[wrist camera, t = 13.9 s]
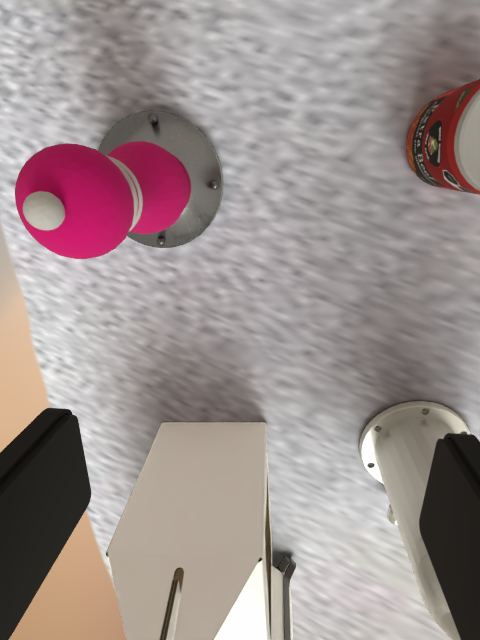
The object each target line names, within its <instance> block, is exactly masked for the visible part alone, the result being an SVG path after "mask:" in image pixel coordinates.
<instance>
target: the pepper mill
mask: <svg viewBox="0 0 480 640" xmlns="http://www.w3.org/2000/svg"><path fill="white" fill-rule="evenodd" d="M190 195H191V181H190V177H189V174H188V172H187V170H186V168H185V166H184V165H183V163H182V162H181V161H180V160H179V159H178V158H177V157H175V156H174V155H173V154H171V153H169V152H168V151H167V150H165V149H164V148H162V147H160V146H159V145H156V144H153V143H151V142H145V141H136V142H129V143H125V144H122V145H120V146H118V147H116V148H114V149H113V150H112V151H111V152H110V153H109V154H108V155H107V156H105V155H104V154H102V153H100V152H99V151H97V150H95V149H92V148H89V147H86V146H82V145H78V144H59V145H54V146H51V147H47V148H44V149H42V150H41V151H39V152H38V153H36V154H35V155H33V156H32V157H31V158H30V159H29V160H28V161H27V162H26V163H25V165H24V166H23V168H22V169H21V171H20V173H19V176H18V179H17V182H16V188H15V198H16V206H17V210H18V213H19V215H20V218H21V220H22V222H23V224H24V226H25V227H26V229H27V230H28V231H29V233H30V234H31V235H32V236H33V237H34V238H35V239H36V240H37V241H38V242H39V243H40V244H41V245H43V246H44V247H46V248H47V249H49V250H50V251H52V252H54V253H56V254H58V255H61V256H65V257H70V258H75V259H88V258H93V257H98V256H101V255H104V254H106V253H108V252H110V251H111V250H113V249H115V248H116V247H117V246H118V245H119V244H120V243H121V242H122V241H123V240H124V239H125V238H126V236H127V234H128V232H129V231H130V232H134V233H138V234H151V233H156V232H159V231H163V230H165V229H167V228H169V227H170V226H171V225H173V224H174V223H175V222H176V221H177V220H178V219H179V217H180V216H181V214H182V212H183V211H184V209H185V207H186V206H187V204H188V202H189V199H190Z"/></svg>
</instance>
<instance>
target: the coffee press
mask: <svg viewBox="0 0 480 640" xmlns="http://www.w3.org/2000/svg"><path fill="white" fill-rule="evenodd" d="M288 564H289V565H288ZM287 566H288V567H287ZM286 567H287V570H286V572H285V574H284V575H283V574H282V572H283V571H284V570H285V569H286ZM295 568H296V563H295V562H294V561H293V559H292V558H291V557H290V556H285V557H284V558H283V559H282V561H281V563H280V564H279V565H278V566H277V567H276V568H275V567H273V566H272V640H293V628H292V601H291V589H290V585H289V583H290V579H291V576H292V574H293V572H294V570H295Z"/></svg>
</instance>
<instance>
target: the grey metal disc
mask: <svg viewBox="0 0 480 640" xmlns="http://www.w3.org/2000/svg"><path fill="white" fill-rule="evenodd" d="M136 141H145V142H151V143H153V144H156V145H159V146H160V147H162V148H164V149H165V150H167V151H168V152H169V153H171V154H173V155H174V156H175V157H177V158H178V159H179V160H180V161H181V162H182V163H183V165H184V166H185V168H186V170H187V172H188V174H189V177H190V181H191V195H190V199H189V202H188V204H187V206H186V207H185V209H184V211H183V212H182V214H181V216H180V217H179V219H178V220H177V221H176V222H175V223H174V224H173V225H171V226H170V227H169V228H167V229H165V230H163V231H159V232H156V233H151V234H138V233H134V232H130V231H129V232H128V234H127V236H128V237H130V238H131V239H133V240H135V241H137V242H139V243H142V244H144V245H147V246H152V247H159V248H170V247H176V246H180V245H183V244H185V243H187V242H190V241H192V240H193V239H195V238H196V237H198V236H199V235H200V234H201V233H202V232H203V231H204V230H205V229H206V228H207V227H208V226H209V225H210V224H211V222H212V221H213V219H214V218H215V216H216V214H217V211H218V209H219V206H220V203H221V199H222V194H223V175H222V170H221V165H220V162H219V159H218V156H217V154H216V152H215V150H214V148H213V147H212V145H211V143H210V142H209V140H208V139H207V138H206V137H205V135H204V134H203V133H202V132H201V131H200V130H199V129H198V128H196V127H195V126H194V125H192V124H191V123H190V122H188V121H186V120H184V119H183V118H181V117H178V116H176V115H173V114H171V113H166V112H162V111H143V112H139V113H135V114H132V115H130V116H127V117H126V118H124V119H122V120H121V121H119V122H118V123H117V124H116V125H114V126H113V127H112V129H111V130H110V131H109V132H108V133H107V135H106V136H105V138H104V139H103V141H102V143H101V145H100V147H99V150H98V151H99V152H100V153H102V154H104V155H105V156H107V155H108V154H109V153H110V152H111V151H112V150H113V149H114V148H116V147H118V146H120V145H122V144H125V143H129V142H136Z"/></svg>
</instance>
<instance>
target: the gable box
mask: <svg viewBox="0 0 480 640" xmlns="http://www.w3.org/2000/svg"><path fill="white" fill-rule="evenodd" d="M106 556H107V559H108V563H109V566H110V570H111V573H112V576H113V580H114V585H115V590H116V594H117V599H118V604H119V608H120V612H121V617H122V622H123V627H124V631H125V636H126V640H272V530H271V509H270V488H269V467H268V445H267V424H266V423H265V422H162V423H161V425H160V428H159V430H158V432H157V435H156V437H155V439H154V442H153V444H152V446H151V449H150V451H149V453H148V456H147V458H146V460H145V463H144V465H143V467H142V470H141V472H140V475H139V477H138V479H137V482H136V484H135V486H134V489H133V491H132V493H131V496H130V498H129V500H128V503H127V505H126V507H125V510H124V512H123V514H122V517H121V519H120V521H119V524H118V526H117V528H116V531H115V533H114V535H113V538H112V540H111V542H110V545H109V547H108V549H107V552H106Z"/></svg>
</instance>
